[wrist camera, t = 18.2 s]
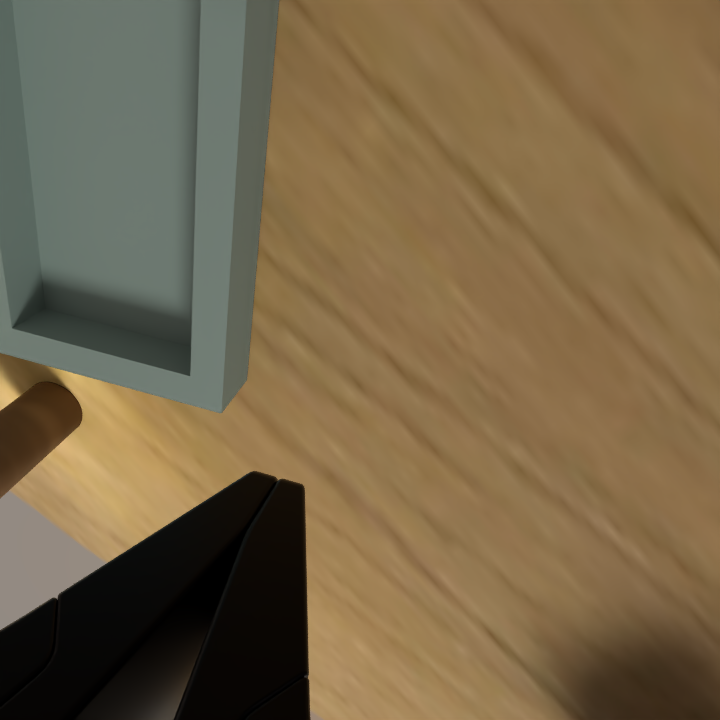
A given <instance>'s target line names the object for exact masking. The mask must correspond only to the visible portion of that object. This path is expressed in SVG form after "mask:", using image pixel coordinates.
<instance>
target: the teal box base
mask: <svg viewBox="0 0 720 720" xmlns="http://www.w3.org/2000/svg"><path fill="white" fill-rule="evenodd" d="M278 7H279V0H0V353H2V354H6V355H10V356H13V357H17V358H21V359H24V360H28V361H32V362H35V363H39V364H43V365H46V366H50V367H54V368H57V369H61V370H65V371H68V372H72V373H75V374H79V375H83V376H86V377H90V378H94V379H97V380H101V381H105V382H108V383H112V384H116V385H119V386H123V387H127V388H130V389H134V390H138V391H141V392H145V393H149V394H152V395H156V396H159V397H163V398H167V399H170V400H174V401H178V402H181V403H185V404H189V405H192V406H196V407H200V408H203V409H207V410H211V411H214V412H218V413H222V412H223V411H224V409H225V408H226V407H227V405H228V404H229V403H230V401H231V400H232V399H233V398H234V396H235V395H236V394H237V392H238V391H239V390H240V388H241V387H242V386H243V384H244V383H245V382H246V380H247V373H248V362H249V350H250V338H251V326H252V314H253V302H254V291H255V279H256V267H257V255H258V243H259V232H260V220H261V208H262V196H263V184H264V172H265V161H266V149H267V137H268V125H269V113H270V101H271V90H272V78H273V66H274V54H275V42H276V30H277V19H278Z"/></svg>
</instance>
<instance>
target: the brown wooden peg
mask: <svg viewBox="0 0 720 720" xmlns="http://www.w3.org/2000/svg"><path fill="white" fill-rule="evenodd" d="M81 421H82V410H81V407H80V405H79V403H78V401H77V400H76V398H75V397H74V396H73V395H72V394H71V393H70V392H69V391H68V390H66V389H65V388H63V387H61V386H59V385H57V384H54V383H50V382H41V383H38V384H36V385H35V386H33V387H32V388H31V389H29V390H28V391H26V392H25V393H24V394H22V395H21V396H20V397H18V398H17V399H16V400H14V401H13V402H12V403H10V404H9V405H8V406H6V407H5V408H4V409H2V410H1V411H0V498H1V497H2V496H3V495H5V494H6V493H7V492H8V491H9V490H10V489H11V488H12V487H13V486H14V485H15V484H16V483H18V482H19V481H20V480H21V479H22V478H23V477H24V476H25V475H26V474H27V473H28V472H29V471H31V470H32V469H33V468H34V467H35V466H36V465H37V464H38V463H39V462H40V461H41V460H43V459H44V458H45V457H46V456H47V455H48V454H49V453H50V452H51V451H52V450H53V449H54V448H56V447H57V446H58V445H59V444H60V443H61V442H62V441H63V440H64V439H65V438H66V437H68V436H69V435H70V434H71V433H72V432H73V431H74V430H75V429H76V428H77V427H78V426H79V425H80V424H81Z"/></svg>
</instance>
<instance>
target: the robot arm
mask: <svg viewBox="0 0 720 720" xmlns="http://www.w3.org/2000/svg"><path fill="white" fill-rule="evenodd" d="M308 675H309V662H308V616H307V569H306V523H305V488H304V486H303V485H302V484H300V483H296V482H293V481H289V480H286V479H280V480H278V479H277V478H276V477H274V476H271V475H268V474H264V473H261V472H257V471H253V472H250V473H248V474H246V475H245V476H243V477H242V478H240V479H239V480H237V481H235V482H234V483H232V484H231V485H229V486H228V487H226V488H224V489H223V490H221V491H220V492H218V493H217V494H215V495H213V496H212V497H210V498H209V499H207V500H206V501H204V502H202V503H201V504H199V505H198V506H196V507H195V508H193V509H191V510H190V511H188V512H187V513H185V514H184V515H182V516H180V517H179V518H177V519H176V520H174V521H173V522H171V523H169V524H168V525H166V526H165V527H163V528H162V529H160V530H158V531H157V532H155V533H154V534H152V535H151V536H149V537H148V538H146V539H144V540H143V541H141V542H140V543H138V544H137V545H135V546H133V547H132V548H130V549H129V550H127V551H126V552H124V553H122V554H121V555H119V556H118V557H116V558H115V559H113V560H111V561H110V562H108V563H107V564H105V565H104V566H102V567H100V568H99V569H97V570H96V571H94V572H93V573H91V574H89V575H88V576H86V577H85V578H83V579H82V580H80V581H78V582H77V583H75V584H74V585H72V586H71V587H69V588H67V589H66V590H65V591H63V592H61V593H60V594H59V595H58V600H57V599H56V598H52V599H50V600H48V601H47V602H45V603H44V604H42V605H40V606H39V607H37V608H36V609H34V610H32V611H31V612H29V613H28V614H26V615H25V616H23V617H21V618H19V619H18V620H16V621H15V622H13V623H11V624H10V625H8V626H6V627H5V628H3V629H1V630H0V720H310V697H309V679H308Z"/></svg>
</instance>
